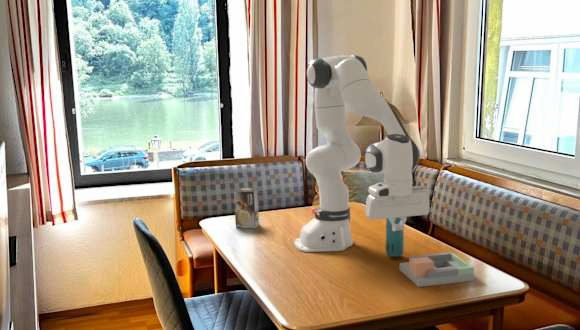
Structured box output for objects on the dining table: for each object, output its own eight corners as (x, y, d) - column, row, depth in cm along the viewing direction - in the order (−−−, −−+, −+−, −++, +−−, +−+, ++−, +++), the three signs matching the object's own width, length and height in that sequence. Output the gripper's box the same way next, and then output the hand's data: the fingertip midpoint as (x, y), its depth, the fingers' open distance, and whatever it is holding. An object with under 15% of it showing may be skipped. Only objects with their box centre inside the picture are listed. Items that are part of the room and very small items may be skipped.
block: (416, 277, 187) (416, 263, 186) (409, 271, 192) (409, 258, 191) (433, 275, 188) (433, 261, 188) (426, 269, 193) (426, 256, 192)
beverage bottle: (405, 255, 214) (406, 201, 210) (402, 261, 208) (403, 206, 204) (387, 253, 216) (387, 200, 212) (383, 259, 210) (384, 205, 206)
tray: (418, 286, 186) (418, 273, 185) (399, 269, 200) (399, 257, 199) (473, 280, 190) (474, 267, 189) (451, 264, 204) (451, 252, 203)
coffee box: (259, 224, 255) (258, 188, 252) (255, 228, 249) (254, 191, 246) (239, 223, 257) (238, 187, 254) (234, 227, 251) (233, 191, 248)
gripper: (424, 182, 188) (423, 224, 190) (363, 187, 183) (363, 230, 186) (433, 187, 182) (432, 230, 184) (370, 192, 177) (370, 236, 180)
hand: (397, 230), depth 185 cm, fingers closed
